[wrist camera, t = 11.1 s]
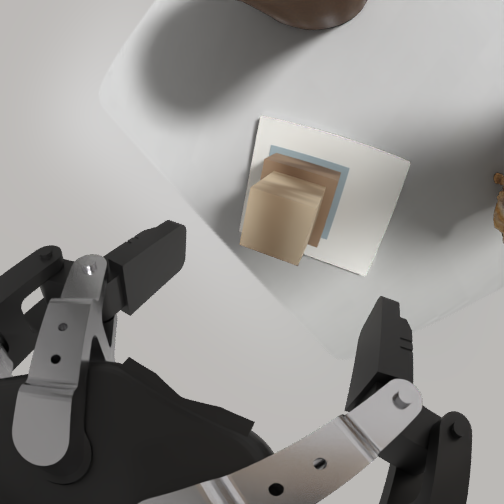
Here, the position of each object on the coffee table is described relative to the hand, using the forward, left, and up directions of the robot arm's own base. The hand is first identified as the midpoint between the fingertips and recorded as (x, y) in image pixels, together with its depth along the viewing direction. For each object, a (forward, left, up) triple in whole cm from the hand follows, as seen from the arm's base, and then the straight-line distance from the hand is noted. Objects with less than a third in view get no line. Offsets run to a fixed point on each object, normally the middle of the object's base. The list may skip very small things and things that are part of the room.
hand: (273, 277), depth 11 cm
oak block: (+2, +3, -16) cm, 17 cm away
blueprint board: (+1, +3, -21) cm, 22 cm away
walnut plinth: (+2, +3, -20) cm, 21 cm away
